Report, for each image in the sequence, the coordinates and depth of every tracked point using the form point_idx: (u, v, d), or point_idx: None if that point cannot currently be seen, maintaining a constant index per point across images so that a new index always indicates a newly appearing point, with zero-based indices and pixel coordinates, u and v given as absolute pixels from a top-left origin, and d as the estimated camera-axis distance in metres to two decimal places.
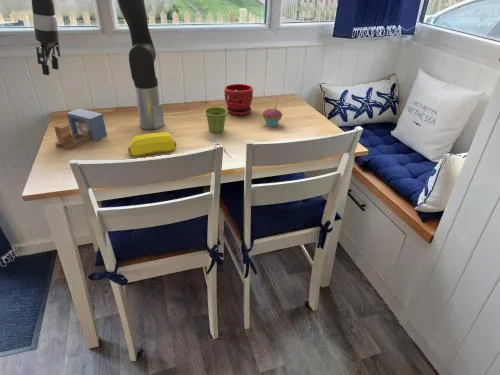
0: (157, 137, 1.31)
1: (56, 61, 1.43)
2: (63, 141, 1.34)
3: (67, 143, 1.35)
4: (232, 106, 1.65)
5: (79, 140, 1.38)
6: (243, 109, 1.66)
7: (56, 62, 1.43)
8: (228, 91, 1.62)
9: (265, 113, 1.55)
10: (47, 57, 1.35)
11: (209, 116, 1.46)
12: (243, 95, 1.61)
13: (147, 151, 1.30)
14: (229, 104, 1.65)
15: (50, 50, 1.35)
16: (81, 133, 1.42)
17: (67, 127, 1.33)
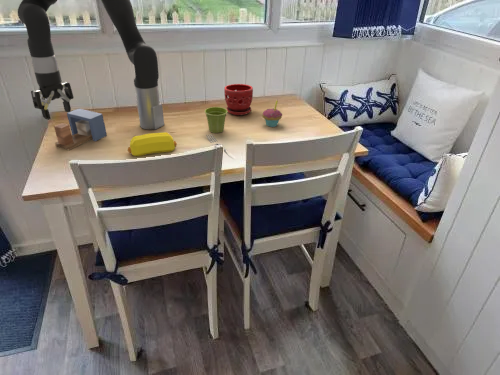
0: (157, 137, 1.31)
1: (66, 104, 1.32)
2: (63, 141, 1.34)
3: (67, 143, 1.35)
4: (232, 106, 1.65)
5: (79, 140, 1.38)
6: (243, 109, 1.66)
7: (66, 105, 1.32)
8: (228, 91, 1.62)
9: (265, 113, 1.55)
10: (45, 101, 1.24)
11: (209, 116, 1.46)
12: (243, 95, 1.61)
13: (147, 151, 1.30)
14: (229, 104, 1.65)
15: (49, 93, 1.24)
16: (81, 133, 1.42)
17: (67, 127, 1.33)
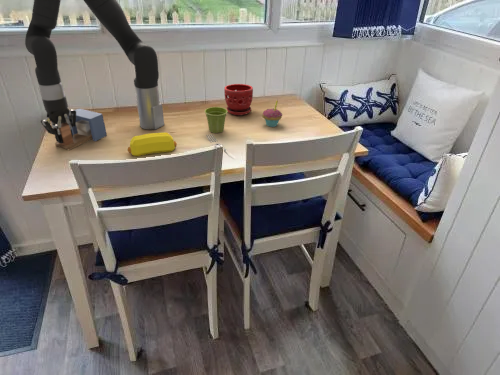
0: (157, 137, 1.31)
1: None
2: (63, 141, 1.34)
3: (67, 143, 1.35)
4: (232, 106, 1.65)
5: (79, 140, 1.38)
6: (243, 109, 1.66)
7: None
8: (228, 91, 1.62)
9: (265, 113, 1.55)
10: (56, 127, 1.30)
11: (209, 116, 1.46)
12: (243, 95, 1.61)
13: (147, 151, 1.30)
14: (229, 104, 1.65)
15: (57, 119, 1.29)
16: (81, 133, 1.42)
17: (67, 127, 1.33)
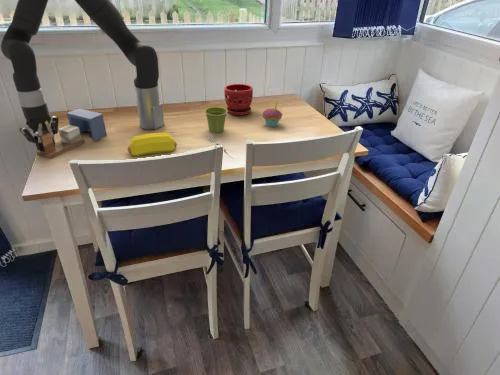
0: (157, 137, 1.31)
1: None
2: None
3: (48, 152, 1.29)
4: (232, 106, 1.65)
5: (62, 148, 1.32)
6: (243, 109, 1.66)
7: None
8: (228, 91, 1.62)
9: (265, 113, 1.55)
10: (37, 135, 1.24)
11: (209, 116, 1.46)
12: (243, 95, 1.61)
13: (146, 151, 1.30)
14: (229, 104, 1.65)
15: (38, 127, 1.23)
16: (64, 141, 1.36)
17: (48, 135, 1.27)
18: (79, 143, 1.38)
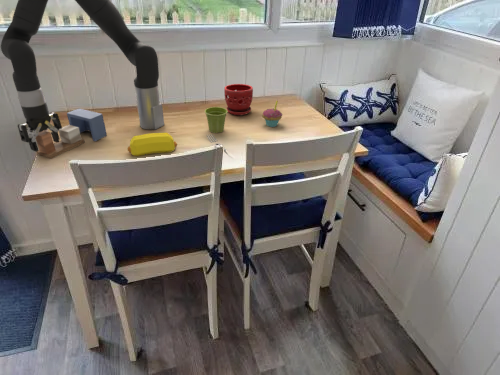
0: (157, 137, 1.31)
1: (55, 134, 1.30)
2: (44, 150, 1.28)
3: (48, 152, 1.29)
4: (232, 106, 1.65)
5: (62, 148, 1.32)
6: (243, 109, 1.66)
7: (55, 135, 1.30)
8: (228, 91, 1.62)
9: (265, 113, 1.55)
10: (33, 133, 1.22)
11: (209, 116, 1.46)
12: (243, 95, 1.61)
13: (146, 151, 1.30)
14: (229, 104, 1.65)
15: (37, 126, 1.22)
16: (64, 141, 1.36)
17: (48, 135, 1.27)
18: (79, 143, 1.38)
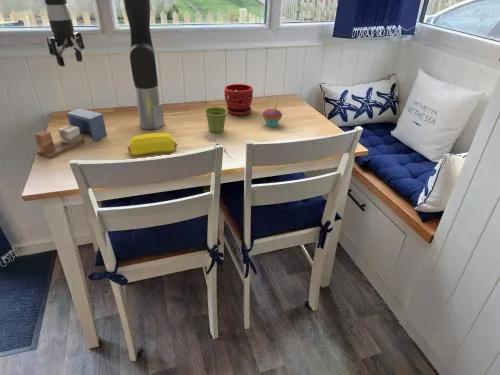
0: (157, 137, 1.31)
1: (78, 53, 1.42)
2: (44, 150, 1.28)
3: (48, 152, 1.29)
4: (232, 106, 1.65)
5: (62, 148, 1.32)
6: (243, 109, 1.66)
7: (78, 54, 1.42)
8: (228, 91, 1.62)
9: (265, 113, 1.55)
10: (60, 48, 1.34)
11: (209, 116, 1.46)
12: (243, 95, 1.61)
13: (146, 151, 1.30)
14: (229, 104, 1.65)
15: (63, 41, 1.33)
16: (64, 141, 1.36)
17: (48, 135, 1.27)
18: (79, 143, 1.38)
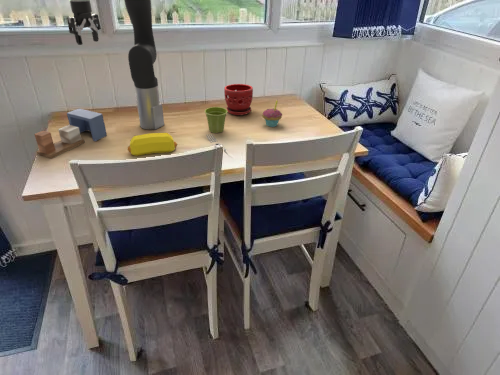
0: (157, 137, 1.31)
1: (95, 33, 1.53)
2: (44, 150, 1.28)
3: (48, 152, 1.29)
4: (232, 106, 1.65)
5: (62, 148, 1.32)
6: (243, 109, 1.66)
7: (95, 34, 1.53)
8: (228, 91, 1.62)
9: (265, 113, 1.55)
10: (79, 27, 1.45)
11: (209, 116, 1.46)
12: (243, 95, 1.61)
13: (146, 151, 1.30)
14: (229, 104, 1.65)
15: (82, 21, 1.45)
16: (64, 141, 1.36)
17: (48, 135, 1.27)
18: (79, 143, 1.38)
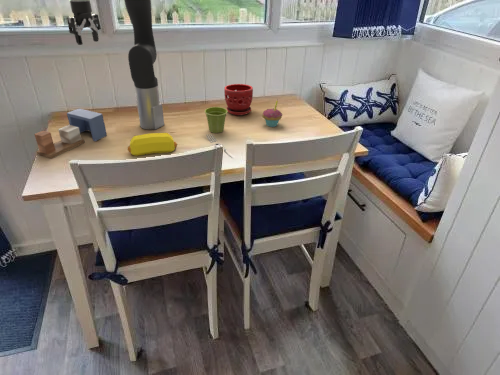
0: (156, 137, 1.31)
1: (95, 33, 1.53)
2: (44, 150, 1.28)
3: (48, 152, 1.29)
4: (232, 106, 1.65)
5: (62, 148, 1.32)
6: (243, 109, 1.66)
7: (95, 34, 1.53)
8: (228, 91, 1.62)
9: (265, 113, 1.55)
10: (79, 27, 1.45)
11: (209, 116, 1.46)
12: (243, 95, 1.61)
13: (146, 151, 1.30)
14: (229, 104, 1.65)
15: (82, 21, 1.45)
16: (64, 141, 1.36)
17: (48, 135, 1.27)
18: (79, 143, 1.38)
